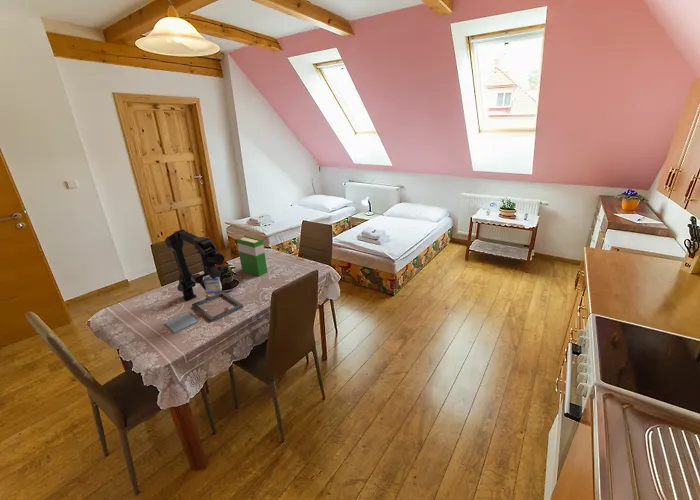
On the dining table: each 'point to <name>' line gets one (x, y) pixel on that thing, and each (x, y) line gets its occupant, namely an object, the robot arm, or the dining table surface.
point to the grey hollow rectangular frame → (226, 310)
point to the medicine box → (212, 285)
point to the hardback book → (252, 255)
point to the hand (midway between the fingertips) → (213, 287)
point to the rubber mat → (181, 322)
